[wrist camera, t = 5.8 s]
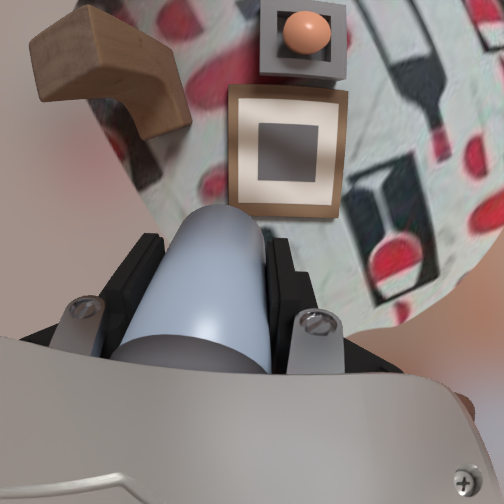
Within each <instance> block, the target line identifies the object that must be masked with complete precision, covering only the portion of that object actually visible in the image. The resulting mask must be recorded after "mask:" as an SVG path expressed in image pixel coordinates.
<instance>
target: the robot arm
mask: <svg viewBox="0 0 504 504" xmlns="http://www.w3.org/2000/svg"><path fill="white" fill-rule="evenodd" d="M164 255H165V248H164V239H163V238H162V237H159V235H158V234H156V233H144V234H143V235H142V236H141V238H140V239H139V240H138V242H137V243H136V245H135V246H134V247H133V249H132V250H131V251H130V252H129V254H128V255H127V257H126V258H125V259H124V261H123V262H122V263H121V265H120V266H119V267H118V269H117V270H116V271H115V273H114V274H113V276H112V277H111V279H110V280H109V281H108V283H107V284H106V286H105V287H104V289H103V290H102V292H101V293H100V294H99V296H93V295H88V296H82V297H79V298H77V299H75V300H73V301H72V302H70V303H69V304H68V306H67V307H66V309H65V311H64V313H63V315H62V317H61V319H60V322H59V323H58V324H55V325H53V326H50V327H48V328H46V329H43V330H41V331H38V332H36V333H34V334H31V335H29V336H26V337H24V338H21V339H20V340H16V339H12V338H8V337H2V336H0V504H504V500H503V497H502V494H501V490H500V487H499V483H498V480H497V477H496V474H495V471H494V468H493V465H492V462H491V459H490V457H489V454H488V452H487V449H486V447H485V444H484V442H483V440H482V438H481V436H480V433H479V431H478V429H477V427H476V425H475V423H474V421H475V407H474V405H473V403H472V402H471V400H470V399H469V398H468V397H466V396H464V395H462V394H459V393H456V392H453V391H452V390H451V389H450V388H449V387H447V386H446V385H444V384H442V383H440V382H438V381H435V380H432V379H429V378H425V377H421V376H416V375H411V374H404V373H403V371H402V370H400V369H399V368H398V367H396V366H395V365H393V364H391V363H389V362H387V361H385V360H384V359H382V358H380V357H378V356H376V355H375V354H373V353H371V352H369V351H367V350H365V349H364V348H362V347H360V346H358V345H356V344H355V343H353V342H351V341H349V340H347V339H346V338H344V337H343V326H342V323H341V320H340V319H339V318H338V317H337V316H336V315H335V314H333V313H332V312H329V311H327V310H323V309H318V306H317V302H316V298H315V295H314V291H313V288H312V284H311V280H310V277H309V274H308V272H298V271H295V269H294V265H293V260H292V256H291V251H290V247H289V242H288V238H273V241H267V253H266V282H267V300H268V318H269V335H270V347H271V366H272V374H248V373H227V372H211V371H198V370H187V369H177V368H167V367H159V366H150V365H143V364H136V363H129V362H122V361H116V360H110V359H109V358H110V357H111V355H112V353H113V352H114V351H115V350H116V349H117V348H118V347H119V346H120V344H121V342H122V340H123V337H124V335H125V333H126V331H127V329H128V327H129V325H130V322H131V320H132V318H133V316H134V314H135V312H136V310H137V308H138V306H139V304H140V302H141V300H142V298H143V296H144V294H145V292H146V290H147V288H148V286H149V284H150V282H151V280H152V278H153V276H154V274H155V272H156V270H157V268H158V266H159V264H160V262H161V261H162V259H163V257H164Z"/></svg>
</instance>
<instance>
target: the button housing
mask: <svg viewBox="0 0 504 504" xmlns="http://www.w3.org/2000/svg"><path fill="white" fill-rule="evenodd" d="M300 11H310V12H314V13H317V14H319V15H320V16H322V17H323V18H324V19H325V20H326V21H327V23H328V24H329V26H330V30H331V37H330V40H329V42H328V43H327V45H326V46H324V47H323V48H322V49H321V50H319V51H318V52H317V53H315V54H312V55H299V54H296V53H294V52H292V51H291V50H289V49H288V48H287V47H286V45H285V44H284V42H283V38H282V32H283V28H284V26H285V23H286V21H287V19H288V18H289V17H290V16H291V15H293V14H294V13H297V12H300ZM346 66H347V27H346V5H341V4H335V3H328V2H321V1H312V0H261V1H260V57H259V76H278V77H296V78H309V79H320V80H329V81H340V80H344V79H346Z"/></svg>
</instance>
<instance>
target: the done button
mask: <svg viewBox="0 0 504 504" xmlns="http://www.w3.org/2000/svg"><path fill="white" fill-rule="evenodd" d="M330 37H331V30H330V26H329V24H328V23H327V21H326V20H325V19H324V18H323V17H322V16H320V15H319V14H317V13H314V12H310V11H300V12H297V13H294V14H293V15H291V16H290V17H289V18H288V19H287V21H286V23H285V26H284V28H283V32H282V38H283V42H284V44H285V45H286V47H287V48H288V49H289V50H291V51H292V52H294V53H296V54H299V55H312V54H315V53H317V52H318V51H319V50H321V49H322V48H323V47H324V46H326V45H327V43H328V42H329V40H330Z"/></svg>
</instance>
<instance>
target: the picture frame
mask: <svg viewBox="0 0 504 504" xmlns="http://www.w3.org/2000/svg"><path fill="white" fill-rule="evenodd" d="M347 111H348V91H344V90H335V89H326V88H316V87H304V86H289V85H266V84H229V87H228V159H229V206H233V207H236V208H238V209H240V210H242V211H244V212H245V213H247V214H248V215H249V216H285V217H321V218H338V216H339V207H340V198H341V189H342V179H343V168H344V157H345V144H346V129H347Z"/></svg>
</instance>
